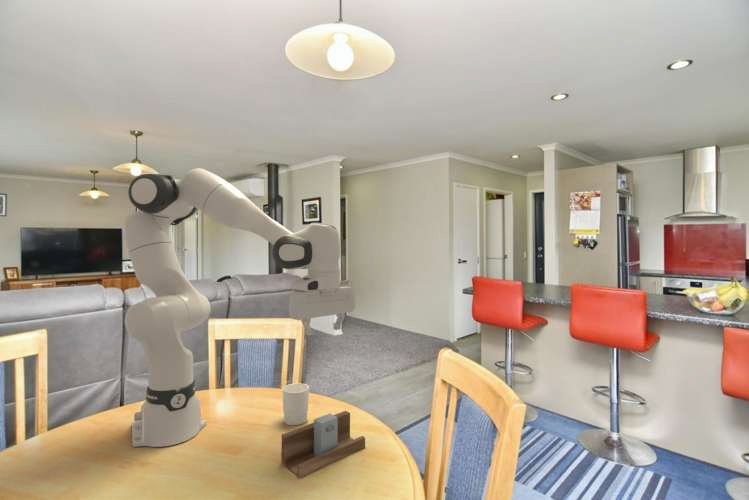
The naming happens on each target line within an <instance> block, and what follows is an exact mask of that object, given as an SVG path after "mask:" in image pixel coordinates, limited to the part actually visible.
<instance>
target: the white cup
mask: <svg viewBox="0 0 749 500" xmlns="http://www.w3.org/2000/svg"><path fill="white" fill-rule="evenodd" d="M281 390H282V405H283V406H282V408H283V417H284V418H283V419H284V423H285V424H286V425H287V426H299V425H304V424H305V423H306V422H307V421H308V410H309V398H310V397H309V396H310V395H309V394H310V386H309V384H306V383H301V382H296V383H295V382H294V383H289V384H286V385H284V386H283V387H282V389H281Z"/></svg>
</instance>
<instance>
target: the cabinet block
mask: <svg viewBox="0 0 749 500" xmlns="http://www.w3.org/2000/svg"><path fill="white" fill-rule="evenodd" d="M334 415H335V414H332V413H327V414H324V415H321V416H319V417H317V418H314V419H313V423H314V455H315V456H318V455H320V454H323V453H325V452H327V451H329V450H332V449H334V448H336V447H337V446H338V417H336V416H334Z"/></svg>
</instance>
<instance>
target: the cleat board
mask: <svg viewBox="0 0 749 500" xmlns="http://www.w3.org/2000/svg"><path fill="white" fill-rule="evenodd" d="M333 415H334V416H336V417H338V446H337V447H336V448H334V449H332V450H329V451H327V452H325V453H323V454H320V455H318V456H315V455H314V422H312V423H309V424H308V423H307V424H306V425H304V426H300V427H297V428H296V429H293V430H290V431H287V432H284V433H281V464H282V465H283V466H284V467H286V468H287V469H288V470H289V471H291V472H292V473H293V474H295V475H296V476H297V477H298V478H299V479H301V478H303V477H305V476H307V475H310V474H311V473H313V472H315V471H318V470H319V469H322V468H324V467H326V466H329V465H330V464H332V463H335V462H337V461H338V460H340V459H342V458H345V457H347V456H349V455H351V454H353V453H355V452H358V451H360V450H362V449H364V448H366V436H364V435H361V436H359V437H356V438H353V437H351V412H349V411H347V410H343V411H341V412H339V413H335V414H333Z"/></svg>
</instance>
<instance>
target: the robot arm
mask: <svg viewBox="0 0 749 500" xmlns="http://www.w3.org/2000/svg"><path fill="white" fill-rule="evenodd" d="M127 191H128V198H129V201H130V203H131V204H132V205H133V206H134V207H136V209H138V210H137V211H135V212H132V213H130V214H129V215H128V216H126V218H125V220H124V235H125V242H126V247H127V251H128V254H129V257H130V258H129V259H130V260H131V261H130V262H131V264H132V267H133V271H134V275H135V277H136V279H137V281H138V282H139V283H140V284H141V285H144V286H146V287H147V288H149V289H150V290H151V292H153V294H154V295H155V297H149V298H146V299H143V300H141V301H139V302H137V303H135V304H133V305H131V306H130V307H129V308H128V310H127V311H126V313H125V316H124V326H125V329H126V332H127V334H129V336H130V337H132V339H134V340H136V341H138V342H139V344H141V346H142V348H143V350H144V352H145V356H146V359H147V368H148V371H147V372H148V386H147V388H146V391H145V401H144V402H143V403H142V405H140V411H136V412H134V413H133V414H134V417H133V419H134V421H132V423H131V446H132V447H134V448H135V447H152V448H162V447H163V448H164V447H168V446H169V447H171V446H173V445H177V444H178V445H179V444H181V443H184V442H186V441H189V440H191V439H193V438H194V437H196V435H198V434H199V432H200V431H201V429H203V428H204V427H206V426H207V420H206V419H204V418H202V407H201V399H200V397H198V396H197V395H196V381H195V379H194V354H193V352H192V350H190V349H188V347H185V346H184V344H183V341H182V336H181V334H182V332H185V331H189V330H192V329H195V328H197V327H198V326H200V325H202V324H203V323H204V322H206V321H207V320H208V319H209V317H210V314H211V311H212V310H211V303H210V301H209V299H208V297H206V296H205V294H202V293H200V292H199V291H198V290H197V289H196V288H195V287H194V286H193V285H192V284H191V282H190V280H189V279H188V278H187V276H186V274H185V273H184V271H183V268H182V266H181V264H180V262H179V259H178V255H177V253H176V250H175V247H174V243H173V240H172V237H171V232H170V226H177V225H179V224H180V223H181V222H184V221H185V220H187V219H189V218H191V217H192V216H193V215H195V214H196V212H197V210H199V211H200V212H201V213H202V214H203V215H206V216H207V217H208V218H209V219H211V220H213V221H215V222H216V223H219V224H221V225H223V226H225V227H228V228H233V229H237V230H242V231H247V232H249V233H254V234H256V235H257V236H259V237H261V238H262V239H264V240H266V242H267V241H268V242H269V243H271V244H272V245H273V247H272V249H271V250H272V253H271V255H272V258H273V261H274V263H275V264H276V265H278V266H279V267H280V268H282V269H285V270H289V271H290V270H292V271H293V270H300V269H301V270H305V269H306V270H307V275H304V276H302V277H300V278H298V279H295V280H293V281H292V282H291V283H290V284H291V285H290V287H291V289H292V291H291V292H290V295H289V300H288V315H289V317H290V318H291V319H293V320H294V321H295V320H296V321H300V320H301V323H302V325H303V328H304V329H305V330H304V334H305V335H306V336H311V335H314V331H315V329H314V327H311V325H310V323H311V319H314V318H315V319H316V318H320V317H329V316H334V315H335V317H337V318H336V321H335V322H334V323H333V330H335V331H340V330H342V323H343V321H344V319H345V314H347V313H354V310H355V309H356V301H355V300H356V299H355V293H354V284H353V282H351V281H350V280H348V279H345V280H341V267H340V264H339V263H340V258H341V240H340V234H339V230H338V229H337V228H336V227H335V226H334V225H332V224H328V223H327V224H326V223H322V222H317V221H316V222H311V223H310V224H309V225H307V226H306V227H305V228H302V229H301V230H299V231H296V232H294V231H292V230H290V229H288V228H287V227H286V226H284V225H282V224H281V223H280V222H278V221H276V220H275V219H273V218H271V216H269V215H267V214H266V213H265V212H264V211H263V210H262V209H260V208H259V207H258V206H257V205H256V204H255V203H253V201H251V199H250V198H248V196H246V195H245V193H243V192H241V191H240V189H238V188H236V186H234V185H233V184H232V183H230V182H228V181H227V180H226V179H224V178H222V177H221V176H219V175H217V174H215V173H213V172H211V171H209V170H206V169H204V168H199V167H198V168H197V167H196V168H193V169H191V170H188V171H187V172H186V173H185V174H184V175H183V176H182V177H181V178H179V179H178V178H177V179H176V178H175V177H174V176H173V175H171V174H169V175H168V174H160V173H159V174H158V173H143V174H140V175H138V176H136V177H135V178H134V179H132V181H131V182H130V184H129V187H128V190H127Z"/></svg>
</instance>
